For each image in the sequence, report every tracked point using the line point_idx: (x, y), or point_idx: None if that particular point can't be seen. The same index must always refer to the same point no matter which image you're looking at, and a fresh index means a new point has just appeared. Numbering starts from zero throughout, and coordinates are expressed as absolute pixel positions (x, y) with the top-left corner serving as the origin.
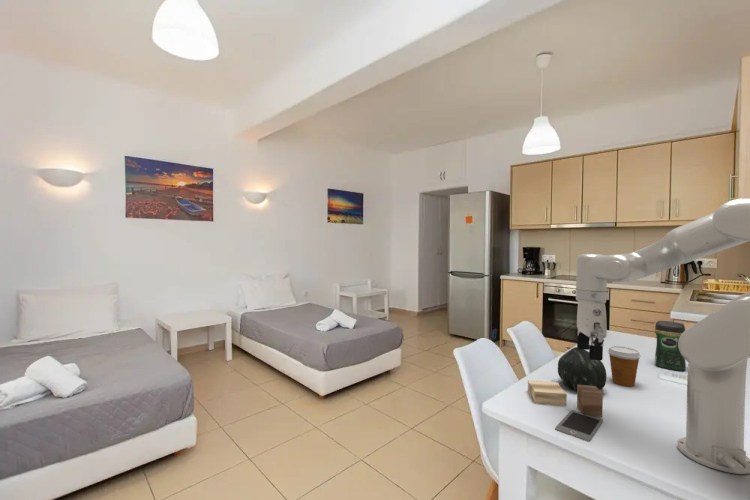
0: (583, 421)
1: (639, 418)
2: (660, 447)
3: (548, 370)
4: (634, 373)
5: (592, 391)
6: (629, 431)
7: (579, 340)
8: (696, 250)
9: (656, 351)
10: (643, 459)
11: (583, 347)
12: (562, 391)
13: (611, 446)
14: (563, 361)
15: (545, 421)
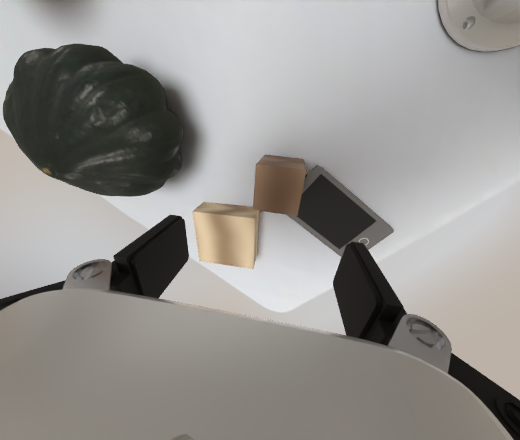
0: (325, 208)
1: (301, 58)
2: (442, 95)
3: None
4: None
5: (295, 193)
6: (365, 130)
7: (164, 287)
8: None
9: None
10: (471, 166)
11: (182, 244)
12: (242, 221)
13: (414, 200)
14: (116, 195)
15: (322, 263)
